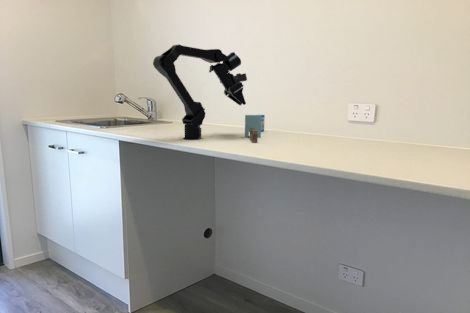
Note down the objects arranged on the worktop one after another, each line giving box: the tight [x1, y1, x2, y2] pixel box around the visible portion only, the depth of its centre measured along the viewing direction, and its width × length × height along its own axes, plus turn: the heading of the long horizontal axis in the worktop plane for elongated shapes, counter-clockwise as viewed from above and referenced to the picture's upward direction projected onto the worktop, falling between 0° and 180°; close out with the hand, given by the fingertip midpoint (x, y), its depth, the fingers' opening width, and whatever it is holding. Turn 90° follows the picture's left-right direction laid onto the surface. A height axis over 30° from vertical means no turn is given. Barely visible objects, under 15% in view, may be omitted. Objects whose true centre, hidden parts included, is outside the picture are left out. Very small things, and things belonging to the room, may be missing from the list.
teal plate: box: [244, 114, 262, 138], centre depth 171 cm, size 7×3×10 cm, turn 93°
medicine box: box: [260, 114, 266, 133], centre depth 190 cm, size 8×4×9 cm, turn 143°
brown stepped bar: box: [249, 127, 258, 144], centre depth 160 cm, size 12×2×5 cm, turn 3°
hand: (243, 104), depth 171 cm, fingers open, 9 cm apart
